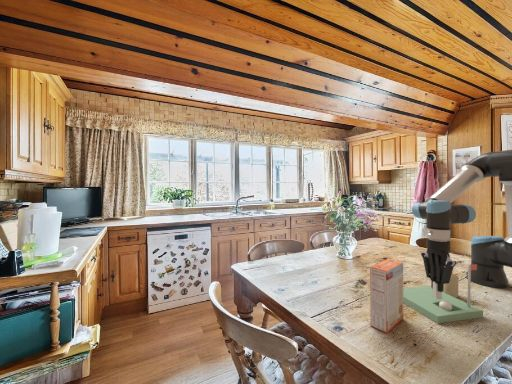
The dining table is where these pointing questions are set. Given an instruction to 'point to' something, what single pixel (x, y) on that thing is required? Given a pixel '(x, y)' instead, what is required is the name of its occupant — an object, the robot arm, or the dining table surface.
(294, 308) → the dining table surface
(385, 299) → the cracker box
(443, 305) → the ball
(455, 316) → the green
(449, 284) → the candle
